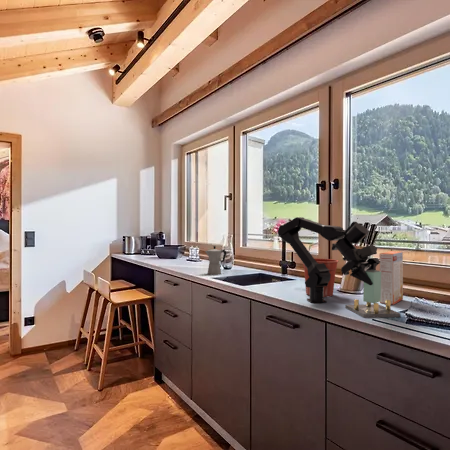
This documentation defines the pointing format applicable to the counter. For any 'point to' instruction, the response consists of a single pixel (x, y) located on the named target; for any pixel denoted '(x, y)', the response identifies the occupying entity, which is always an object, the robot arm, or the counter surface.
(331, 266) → the flower pot
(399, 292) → the cracker box
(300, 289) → the counter surface
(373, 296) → the block
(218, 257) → the coffeepot
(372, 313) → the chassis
